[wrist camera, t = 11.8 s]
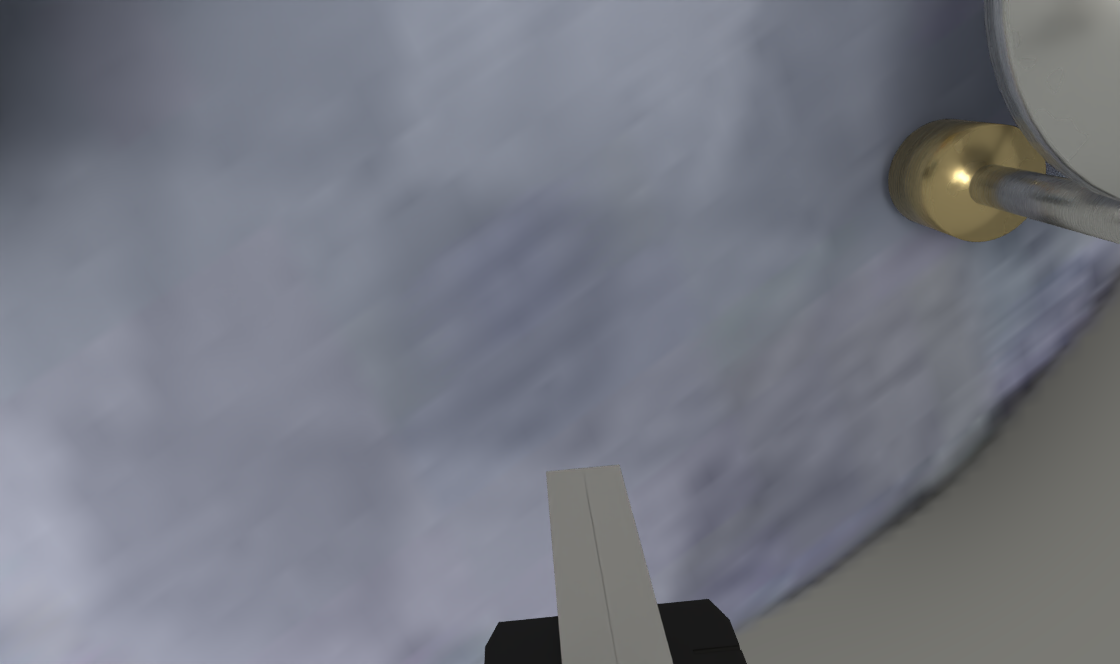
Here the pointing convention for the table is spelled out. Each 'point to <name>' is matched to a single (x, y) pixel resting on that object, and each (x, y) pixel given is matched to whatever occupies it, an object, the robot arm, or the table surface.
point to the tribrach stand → (1027, 131)
